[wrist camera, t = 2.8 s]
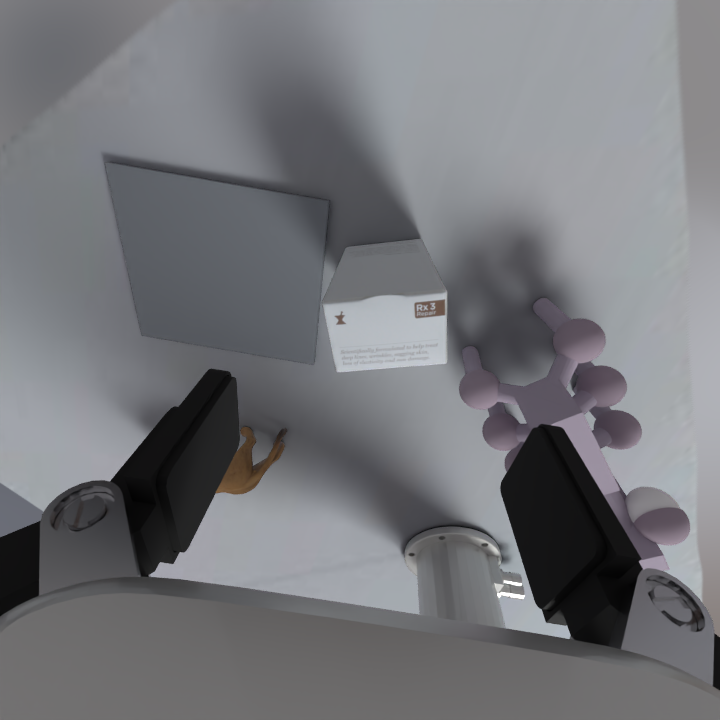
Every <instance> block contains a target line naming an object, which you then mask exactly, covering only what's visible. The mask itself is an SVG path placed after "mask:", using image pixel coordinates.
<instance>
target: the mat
mask: <svg viewBox="0 0 720 720" xmlns="http://www.w3.org/2000/svg"><path fill="white" fill-rule="evenodd" d="M105 167H106V171H107V176H108V181H109V185H110V190H111V195H112V199H113V204H114V209H115V213H116V218H117V223H118V228H119V232H120V237H121V242H122V246H123V251H124V256H125V260H126V265H127V270H128V274H129V279H130V284H131V288H132V293H133V298H134V302H135V307H136V312H137V316H138V321H139V326H140V330H141V335H142V336H147V337H153V338H159V339H164V340H170V341H176V342H182V343H188V344H194V345H200V346H206V347H211V348H217V349H223V350H229V351H235V352H241V353H247V354H253V355H258V356H264V357H270V358H276V359H282V360H288V361H294V362H300V363H305V364H311V365H314V362H315V352H316V342H317V331H318V321H319V310H320V300H321V289H322V278H323V268H324V257H325V247H326V236H327V226H328V215H329V205H330V200H324V199H318V198H312V197H307V196H301V195H295V194H290V193H284V192H278V191H273V190H267V189H261V188H256V187H250V186H244V185H239V184H233V183H227V182H222V181H216V180H210V179H205V178H199V177H193V176H188V175H182V174H176V173H171V172H165V171H159V170H154V169H148V168H142V167H136V166H131V165H125V164H119V163H114V162H105Z"/></svg>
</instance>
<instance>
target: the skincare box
mask: <svg viewBox="0 0 720 720" xmlns="http://www.w3.org/2000/svg"><path fill="white" fill-rule="evenodd" d="M322 306H323V310H324V314H325V319H326V324H327V329H328V334H329V339H330V344H331V349H332V354H333V358H334V364H335V369H336V372H349V371H360V370H373V369H384V368H397V367H410V366H423V365H435V364H446V363H447V290H446V288H445V286H444V284H443V282H442V280H441V278H440V276H439V274H438V272H437V270H436V268H435V266H434V264H433V261H432V259H431V257H430V255H429V253H428V251H427V249H426V247H425V245H424V242H423V240H422V239H413V240H405V241H395V242H386V243H378V244H369V245H359V246H350V247H346V248H345V251H344V253H343V255H342V257H341V260H340V262H339V264H338V266H337V269H336V271H335V273H334V275H333V278H332V280H331V282H330V285H329V287H328V290H327V292H326V295H325V297H324V299H323V301H322Z"/></svg>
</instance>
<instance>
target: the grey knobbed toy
mask: <svg viewBox="0 0 720 720" xmlns="http://www.w3.org/2000/svg"><path fill="white" fill-rule="evenodd" d="M533 310H534V312H535V313H536V314H537V315H538V316H539V317H540V318H541V319H542V320H543V321H544V322H545V323H546V324H547V325H548V326H549V327H550V328H551V329H552V330H553V331H554V332H555V334H554V337H553V347H554V349H555V351H556V353H557V356H556V358H555V360H554V363H553V365H552V367H551V369H550V371H549V373H548V375H547V377H546V378H543V379H541V380H539V381H536V382H534V383H532V384H529V385H527V386H525V387H523V386H516V385H509V384H502V383H500V381H499V380H498V378H497V377H496V376H495V375H494V374H493V373H491V372H489V371H487V370H483V368H482V364H481V361H480V357H479V353H478V350H477V349H476V348H475V347H473V346H467V347H465V348H464V349H463V351H462V356H463V361H464V366H465V371H466V375H465V376H464V377H463V378H462V380H461V382H460V386H459V392H460V396H461V398H462V400H463V401H464V402H465V403H466V404H467V405H468V406H470V407H472V408H474V409H480V410H481V409H487V408H488V411H489V415H490V417H488V418H487V419H486V421H485V422H484V425H483V431H482V432H483V437H484V439H485V441H486V442H487V443H488V444H489V445H490V446H491V447H492V448H494V449H497V450H500V451H508V450H511V451H510V452H509V453H508V454H507V456H506V458H505V469H506V471H508V470H509V468H510V466H511V465H512V463H513V461H514V459H515V458H516V456H517V454H518V452H519V451H520V449H521V447H522V446H523V444H524V442H525V440H526V439H527V437H528V435H529V433H530V432H531V430H532V429H533V428H534V427H538V426H539V425H540V424H547V425H553V426H559V427H562V428H563V429H564V430H565V432H566V434H567V435H568V437H569V438H570V440H571V442H572V443H573V445H574V447H575V448H576V450H577V452H578V453H579V455H580V457H581V458H582V460H583V462H584V463H585V465H586V467H587V468H588V470H589V472H590V473H591V475H592V477H593V478H594V480H595V482H596V483H597V485H598V487H599V488H600V490H601V492H602V493H603V495H604V497H605V498H606V500H607V502H608V503H609V505H610V507H611V508H612V510H613V512H614V513H615V515H616V517H617V518H618V520H619V522H620V523H621V525H622V527H623V528H624V530H625V532H626V533H627V535H628V537H629V538H630V540H631V542H632V543H633V545H634V547H635V548H636V550H637V552H638V553H639V555H640V557H641V558H642V559H641V560H640V561H639V563H640V565H641V566H642V568H643V570H644V569H647V568H652V569H658V570H661V571H664V570H669V566H668V564H667V562H666V559H665V557H664V555H663V553H662V552H661V550H660V548H659V547H658V545H657V544H661V545H675V544H679V543H681V542H682V541H684V540H685V539H686V538H687V536H688V535H689V532H690V522H689V519H688V517H687V515H686V514H685V512H684V511H683V510H681V509H680V507H679V505H678V504H677V502H676V501H675V500H674V499H673V498H672V497H671V496H670V495H668V494H667V493H665V492H664V491H662V490H659V489H657V488H653V487H639V488H636V489H634V490H632V491H631V492H630V493H629V494H628V495H627V496H626V495H625V493H624V492H623V490H622V489H621V487H620V485H619V484H618V482H617V481H616V479H615V477H614V476H613V474H612V472H611V470H610V468H609V466H608V464H607V462H606V460H605V457H604V455H603V453H602V451H601V448H603V447H605V446H608V447H610V448H613V449H621V450H622V449H628V448H631V447H633V446H635V445H636V444H637V443H638V442H639V440H640V438H641V435H642V429H641V426H640V424H639V422H638V421H637V420H636V419H635V418H634V417H633V416H632V415H630V414H628V413H626V412H623V411H618V410H611V409H610V408H609V406H613V405H615V404H617V403H618V402H620V401H621V400H622V399H623V397H624V396H625V394H626V390H627V384H626V381H625V379H624V377H623V376H622V374H621V373H620V372H618V371H617V370H615V369H613V368H611V367H608V366H594V365H593V364H592V363H591V362H590V361H591V360H593V359H595V358H597V357H598V356H599V355H600V354H601V352H602V351H603V349H604V347H605V343H606V339H605V334H604V332H603V330H602V329H601V327H600V326H599V325H598V324H596V323H594V322H593V321H590V320H587V319H573V320H571V319H570V318H569V317H568V316H567V315H565V314H564V313H563V312H562V311H561V310H560V309H559V308H557V307H556V306H555V305H554V304H553V303H552V302H551V301H550V300H548V299H547V298H541V299H539V300H537V301H536V302H535V303H534V305H533ZM574 372H575V374H576V375H577V376H578V379H577V382H576V386H575V387H574V389H573V391H574V393H575V395H574V396H573V397H571V395H570V394H569V392H568V391H567V390H566V388H567V386H568V384H569V382H570V379H571V377H572V375H573V373H574ZM503 402H504V403H509V404H515V405H519V407H520V409H521V411H522V413H523V415H524V418H525V420H526V422H527V424H520V423H519V422H518V421H517V420H516V419H515V418H514V417H513V416H511V415H509V414H506V412H505V409H504V406H503ZM588 411H590V412H591V414H592V415H593V416H594V417H595V418H596V420H595V423H594V430H593V431H591V428H590V426H589V424H588V422H587V420H586V418H585V416H584V414H586V413H587V412H588ZM656 543H657V544H656Z"/></svg>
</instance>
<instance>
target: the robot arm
mask: <svg viewBox="0 0 720 720" xmlns="http://www.w3.org/2000/svg"><path fill="white" fill-rule="evenodd" d="M239 441H240V435H239V418H238V400H237V383H236V378H235V377H231V374H230V372H228V371H222V370H216V369H209V370H208V371H207V372H206V373H205V375H204V376H203V377H202V378H201V380H200V381H199V382H198V383H197V385H196V386H195V387H194V388H193V390H192V391H191V392H190V393H189V395H188V396H187V397H186V398H185V400H184V401H183V402H182V403H181V405H180V406H179V407H173V408H171V409H170V410H169V411H168V412H167V413H166V414H165V415H164V417H163V418H162V419H161V420H160V422H159V423H158V424H157V425H156V426H155V428H154V429H153V430H152V431H151V432H150V434H149V435H148V436H147V437H146V438H145V440H144V441H143V442H142V443H141V445H140V446H139V447H138V448H137V449H136V451H135V452H134V453H133V454H132V455H131V457H130V458H129V459H128V460H127V461H126V463H125V464H124V465H123V466H122V467H121V469H120V470H119V471H118V472H117V474H116V475H115V476H114V477H113V478H112V480H111V481H110V482H109V481H105V480H99V481H90V482H85V483H81V484H79V485H77V486H74V487H72V488H70V489H68V490H66V491H65V492H63V493H62V494H60V495H59V496H57V497H56V498H55V499H54V500H53V501H52V502H51V503H50V504H49V505H48V506H47V508H46V509H45V511H44V513H43V514H42V518H41V521H39V522H37V523H34V524H32V525H29V526H27V527H24V528H22V529H20V530H17V531H15V532H12V533H10V534H8V535H5V536H3V537H0V720H720V637H718V636H717V635H716V634H715V633H714V626H713V620H712V618H711V616H710V614H709V612H708V611H707V609H706V607H705V606H704V605H703V603H702V602H701V600H700V599H699V598H698V597H697V596H696V595H695V594H694V593H693V592H692V591H691V590H690V589H689V588H688V587H687V586H686V585H685V584H683V583H682V582H681V581H679V580H678V579H677V578H675V577H673V576H671V575H670V574H668V573H666V572H664V571H661V570H658V569H652V568H647V569H644V570H643V568H642V566H641V565H640V563H639V561H640V560H641V559H642V558H641V557H640V555H639V553H638V552H637V550H636V548H635V547H634V545H633V543H632V542H631V540H630V538H629V537H628V535H627V533H626V532H625V530H624V528H623V527H622V525H621V523H620V522H619V520H618V518H617V517H616V515H615V513H614V512H613V510H612V508H611V507H610V505H609V503H608V502H607V500H606V498H605V497H604V495H603V493H602V492H601V490H600V488H599V487H598V485H597V483H596V482H595V480H594V478H593V477H592V475H591V473H590V472H589V470H588V468H587V467H586V465H585V463H584V462H583V460H582V458H581V457H580V455H579V453H578V452H577V450H576V448H575V447H574V445H573V443H572V442H571V440H570V438H569V437H568V435H567V434H566V432H565V430H564V429H563V428H562V427H559V426H553V425H547V424H540V425H539V426H538V427H534V428H533V429H532V430H531V432H530V433H529V435H528V437H527V439H526V440H525V442H524V444H523V446H522V447H521V449H520V451H519V452H518V454H517V456H516V458H515V459H514V461H513V463H512V465H511V466H510V468H509V470H508V471H507V473H506V475H505V477H504V478H503V480H502V482H501V488H500V489H501V495H502V498H503V501H504V504H505V507H506V511H507V514H508V517H509V520H510V523H511V527H512V530H513V533H514V536H515V539H516V543H517V546H518V549H519V552H520V555H521V559H522V562H523V565H524V568H525V571H526V575H527V578H528V581H529V584H530V587H531V591H532V594H533V597H534V600H535V603H536V605H537V606H538V607H539V608H540V609H542V611H543V614H544V617H545V621H546V623H552V624H559V625H565V626H566V625H567V626H568V629H569V631H570V634H571V636H570V639H565V638H559V637H554V636H548V635H542V634H536V633H530V632H524V631H518V630H512V629H506V627H505V623H504V619H503V614H502V610H501V606H500V602H499V597H500V596H506V597H508V598H513V599H520V600H522V599H523V598H524V587H523V585H522V578H521V575H520V574H517V573H511V572H509V573H507V572H503V571H502V569H500V568H499V567H500V564H501V558H502V557H501V553H500V549H499V547H498V545H497V543H496V542H495V541H494V540H493V539H492V538H491V537H489V536H488V535H486V534H484V533H482V532H480V531H477V530H474V529H470V528H465V527H453V526H450V527H439V528H434V529H430V530H427V531H424V532H422V533H420V534H418V535H416V536H415V537H414V538H412V539H411V540H410V541H409V543H408V544H407V546H406V548H405V563H406V565H407V567H408V568H409V570H410V571H411V572H412V573H414V574H415V575H416V576H417V580H418V597H419V614H420V615H418V614H411V613H405V612H399V611H392V610H386V609H379V608H373V607H367V606H360V605H354V604H347V603H341V602H334V601H328V600H321V599H314V598H308V597H301V596H295V595H288V594H281V593H275V592H268V591H261V590H255V589H248V588H241V587H234V586H226V585H219V584H211V583H203V582H196V581H188V580H181V579H169V578H156V577H151V576H150V574H151V573H153V572H154V571H155V570H156V568H157V566H158V564H159V563H160V562H164V563H170V564H174V562H175V560H176V558H177V556H178V554H179V552H185V551H186V550H187V549H188V547H189V545H190V543H191V541H192V539H193V537H194V535H195V533H196V531H197V529H198V527H199V525H200V523H201V521H202V519H203V517H204V515H205V513H206V511H207V509H208V507H209V505H210V503H211V501H212V499H213V497H214V495H215V493H216V491H217V489H218V487H219V485H220V483H221V481H222V479H223V477H224V475H225V473H226V471H227V469H228V467H229V465H230V463H231V461H232V459H233V457H234V455H235V453H236V451H237V449H238V446H239Z"/></svg>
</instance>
